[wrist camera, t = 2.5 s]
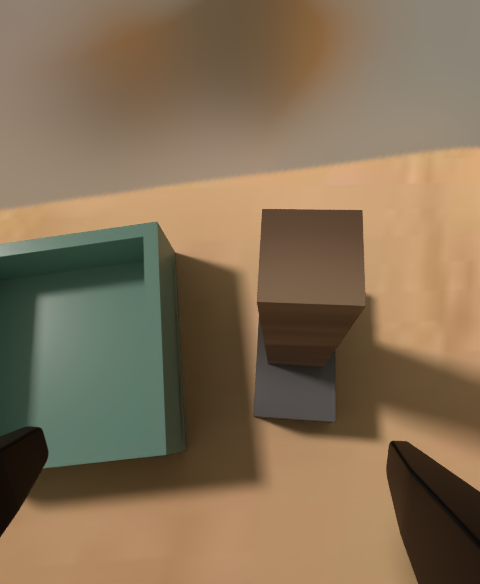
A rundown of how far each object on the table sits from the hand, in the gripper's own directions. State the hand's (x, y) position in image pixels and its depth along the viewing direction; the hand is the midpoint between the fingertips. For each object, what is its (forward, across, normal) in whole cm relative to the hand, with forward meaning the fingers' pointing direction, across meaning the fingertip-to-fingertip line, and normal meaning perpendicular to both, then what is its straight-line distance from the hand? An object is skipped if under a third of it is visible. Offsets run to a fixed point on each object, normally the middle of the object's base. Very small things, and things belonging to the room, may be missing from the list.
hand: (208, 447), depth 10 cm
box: (+12, -10, -5) cm, 16 cm away
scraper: (+13, +2, -4) cm, 14 cm away
